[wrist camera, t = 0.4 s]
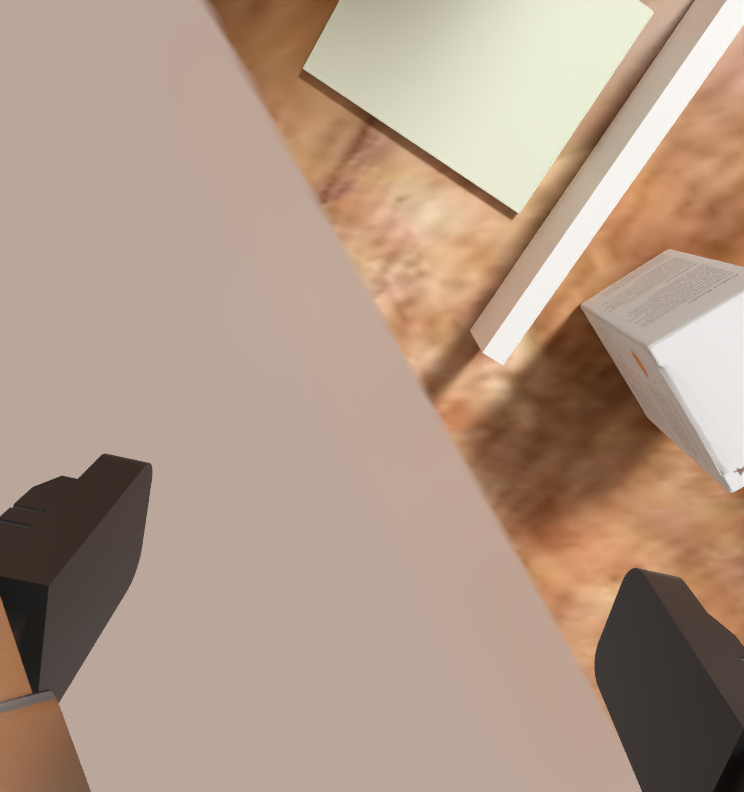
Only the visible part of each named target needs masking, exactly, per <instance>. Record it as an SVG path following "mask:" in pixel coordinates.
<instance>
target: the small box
mask: <svg viewBox="0 0 744 792" xmlns="http://www.w3.org/2000/svg"><path fill="white" fill-rule="evenodd" d="M580 308H581V309H582V311H583V312H584V314H585V315H586V317H587V319H588V320H589V322H590V324H591V325H592V327H593V328H594V330H595V332H596V333H597V335H598V337H599V338H600V340H601V342H602V343H603V345H604V347H605V348H606V350H607V352H608V353H609V355H610V356H611V358H612V360H613V361H614V363H615V365H616V366H617V368H618V370H619V371H620V373H621V375H622V376H623V378H624V380H625V381H626V383H627V385H628V386H629V388H630V389H631V391H632V393H633V394H634V396H635V398H636V399H637V401H638V403H639V404H640V406H641V408H642V409H643V411H644V413H645V415H646V416H647V418H649V419H650V420H651V421H652V422H653V423H654V424H655V425H656V426H657V427H658V428H659V429H660V430H661V431H662V432H663V433H664V434H665V435H667V436H668V437H669V438H670V439H671V440H672V441H673V442H674V443H675V444H676V445H677V446H679V447H680V448H681V449H682V450H683V451H684V452H685V453H686V454H687V455H688V456H689V457H691V458H692V459H693V460H694V461H695V462H696V463H697V464H699V465H700V466H701V467H702V468H703V469H704V470H705V471H706V472H707V473H709V474H710V475H711V476H712V477H713V478H714V479H715V480H716V481H717V482H718V483H720V484H721V485H722V486H723V487H724V488H725V489H726V490H727V491H728V492H729V493H733V492H735V491H737V490H738V489H740V488H742V487H744V267H742V266H737V265H733V264H729V263H725V262H721V261H716V260H712V259H708V258H704V257H700V256H695V255H691V254H687V253H683V252H679V251H674V250H670V249H668V250H666V251H664V252H662V253H661V254H659V255H657V256H656V257H654V258H653V259H651V260H649V261H648V262H646V263H645V264H643V265H641V266H640V267H638V268H637V269H635V270H634V271H632V272H630V273H629V274H627V275H626V276H624V277H622V278H621V279H619V280H618V281H616V282H615V283H613V284H611V285H610V286H608V287H607V288H605V289H603V290H602V291H600V292H599V293H597V294H596V295H594V296H593V297H591V298H590V299H588V300H587V301H585V302H583V303H582V304H581V305H580Z"/></svg>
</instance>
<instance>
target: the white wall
mask: <svg viewBox="0 0 744 792" xmlns="http://www.w3.org/2000/svg"><path fill="white" fill-rule="evenodd" d="M743 25H744V0H694V2H693V3H692V5H691V6H690V8H689V9H688V11H687V12H686V14H685V15H684V17H683V18H682V20H681V21H680V23H679V24H678V25H677V27H676V28H675V30H674V31H673V33H672V34H671V36H670V37H669V39H668V40H667V42H666V43H665V45H664V46H663V47H662V49H661V50H660V52H659V53H658V55H657V56H656V58H655V59H654V61H653V62H652V64H651V65H650V67H649V68H648V70H647V71H646V72H645V74H644V75H643V77H642V78H641V80H640V81H639V83H638V84H637V86H636V87H635V89H634V90H633V92H632V93H631V94H630V96H629V97H628V99H627V100H626V102H625V103H624V105H623V106H622V108H621V109H620V111H619V112H618V114H617V115H616V117H615V118H614V119H613V121H612V122H611V124H610V125H609V127H608V128H607V130H606V131H605V133H604V134H603V136H602V137H601V139H600V140H599V141H598V143H597V144H596V146H595V147H594V149H593V150H592V152H591V153H590V155H589V156H588V158H587V159H586V161H585V162H584V164H583V165H582V166H581V168H580V169H579V171H578V172H577V174H576V175H575V177H574V178H573V180H572V181H571V183H570V184H569V186H568V187H567V188H566V190H565V191H564V193H563V194H562V196H561V197H560V199H559V200H558V202H557V203H556V205H555V206H554V208H553V209H552V211H551V212H550V213H549V215H548V216H547V218H546V219H545V221H544V222H543V224H542V225H541V227H540V228H539V230H538V231H537V233H536V234H535V235H534V237H533V238H532V240H531V241H530V243H529V244H528V246H527V247H526V249H525V250H524V252H523V253H522V255H521V256H520V258H519V259H518V260H517V262H516V263H515V265H514V266H513V268H512V269H511V271H510V272H509V274H508V275H507V277H506V278H505V280H504V281H503V282H502V284H501V285H500V287H499V288H498V290H497V291H496V293H495V294H494V296H493V297H492V299H491V300H490V302H489V303H488V304H487V306H486V307H485V309H484V310H483V312H482V313H481V315H480V316H479V318H478V319H477V321H476V322H475V324H474V325H473V327H472V328H471V329H470V332H471V334H472V336H473V337H474V339H475V341H476V342H477V344H478V346H479V348H480V349H481V351H482V353H484V354H486V355H487V356H489V357H490V358H492V359H494V360H495V361H497V362H498V363H500V364H501V365H503V364H504V363H505V362H506V360H507V359H508V357H509V356H510V355H511V353H512V352H513V350H514V349H515V347H516V346H517V345H518V343H519V342H520V340H521V339H522V338H523V336H524V335H525V333H526V332H527V331H528V329H529V328H530V326H531V325H532V323H533V322H534V321H535V319H536V318H537V316H538V315H539V314H540V312H541V311H542V309H543V308H544V306H545V305H546V304H547V302H548V301H549V299H550V298H551V297H552V295H553V294H554V292H555V291H556V289H557V288H558V287H559V285H560V284H561V282H562V281H563V280H564V278H565V277H566V275H567V274H568V272H569V271H570V270H571V268H572V267H573V265H574V264H575V263H576V261H577V260H578V258H579V257H580V255H581V254H582V253H583V251H584V250H585V248H586V247H587V246H588V244H589V243H590V241H591V240H592V239H593V237H594V236H595V234H596V233H597V231H598V230H599V229H600V227H601V226H602V224H603V223H604V222H605V220H606V219H607V217H608V216H609V214H610V213H611V212H612V210H613V209H614V207H615V206H616V205H617V203H618V202H619V200H620V199H621V197H622V196H623V195H624V193H625V192H626V190H627V189H628V188H629V186H630V185H631V183H632V182H633V180H634V179H635V178H636V176H637V175H638V173H639V172H640V171H641V169H642V168H643V166H644V165H645V164H646V162H647V161H648V159H649V158H650V156H651V155H652V154H653V152H654V151H655V149H656V148H657V147H658V145H659V144H660V142H661V141H662V139H663V138H664V137H665V135H666V134H667V132H668V131H669V130H670V128H671V127H672V125H673V124H674V122H675V121H676V120H677V118H678V117H679V115H680V114H681V113H682V111H683V110H684V108H685V107H686V105H687V104H688V103H689V101H690V100H691V98H692V97H693V96H694V94H695V93H696V91H697V90H698V88H699V87H700V86H701V84H702V83H703V81H704V80H705V79H706V77H707V76H708V74H709V73H710V72H711V70H712V69H713V67H714V66H715V64H716V63H717V62H718V60H719V59H720V57H721V56H722V55H723V53H724V52H725V50H726V49H727V47H728V46H729V45H730V43H731V42H732V40H733V39H734V38H735V36H736V35H737V33H738V32H739V30H740V29H741V28H742V26H743Z"/></svg>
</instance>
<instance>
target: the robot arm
mask: <svg viewBox="0 0 744 792" xmlns="http://www.w3.org/2000/svg"><path fill="white" fill-rule="evenodd" d="M151 482H152V466H151V464H150V463H146V462H142V461H137V460H133V459H128V458H123V457H118V456H114V455H109V454H102V455H101V456H100V457H99V458H98V459H97V460H96V461H95V462H94V463H93V464H92V465H91V466H90V467H89V468H88V469H87V470H86V471H85V472H84V473H83V474H82V476H81V477H79V478H78V479H75V478H70V477H65V476H60V477H57V478H55V479H52V480H50V481H47V482H45V483H42V484H40V485H37V486H35V487H33V488H31V489H30V490H29V491H28V492H27V493H26V494H25V495H23V496H22V497H21V498H20V499H19V500H18V501H17V502H16V503H15V504H14V506H13V508H9V509H8V510H7V511H6V512H5V513H4V514H2V515H1V516H0V792H91V791H90V789H89V785H88V783H87V780H86V777H85V774H84V772H83V769H82V766H81V764H80V761H79V758H78V755H77V753H76V750H75V747H74V744H73V742H72V739H71V736H70V734H69V731H68V728H67V725H66V723H65V720H64V717H63V714H62V712H61V709H60V706H59V704H58V703H59V702H60V700H61V699H62V697H63V695H64V694H65V692H66V690H67V689H68V687H69V685H70V684H71V682H72V680H73V679H74V677H75V675H76V674H77V672H78V670H79V669H80V667H81V666H82V664H83V662H84V660H85V659H86V657H87V656H88V654H89V652H90V651H91V649H92V648H93V646H94V644H95V643H96V641H97V639H98V638H99V636H100V634H101V633H102V631H103V629H104V628H105V626H106V624H107V623H108V621H109V619H110V618H111V616H112V615H113V613H114V611H115V610H116V608H117V606H118V605H119V603H120V602H121V600H122V598H123V597H124V595H125V593H126V592H127V590H128V588H129V586H130V584H131V582H132V580H133V578H134V575H135V572H136V569H137V566H138V563H139V559H140V555H141V550H142V544H143V537H144V529H145V523H146V516H147V509H148V502H149V495H150V488H151ZM595 677H596V682H597V685H598V687H599V690H600V692H601V694H602V697H603V699H604V702H605V704H606V706H607V709H608V711H609V714H610V716H611V718H612V721H613V723H614V725H615V728H616V730H617V733H618V735H619V737H620V740H621V742H622V745H623V747H624V749H625V752H626V754H627V756H628V759H629V761H630V764H631V766H632V768H633V771H634V773H635V775H636V778H637V780H638V783H639V785H640V787H641V790H642V792H744V647H743V645H742V644H741V643H740V641H739V640H738V639H737V637H736V636H735V635H734V634H733V633H731V632H730V631H729V630H728V629H726V628H725V627H724V626H723V625H722V624H720V623H719V622H718V621H717V620H716V619H714V618H713V617H712V616H711V615H710V614H708V613H707V612H706V610H705V609H704V608H703V606H702V605H701V604H700V602H699V601H698V600H697V598H696V597H695V595H694V594H693V593H692V591H691V590H690V589H689V587H688V586H687V585H686V583H685V582H684V581H683V580H682V579H681V578H680V577H676V576H671V575H667V574H662V573H657V572H653V571H648V570H643V569H638V568H633V569H631V570H630V571H629V572H628V573H627V574H626V575H625V577H624V579H623V581H622V584H621V586H620V589H619V591H618V594H617V596H616V599H615V602H614V604H613V607H612V609H611V612H610V614H609V617H608V619H607V622H606V625H605V627H604V630H603V632H602V635H601V637H600V640H599V643H598V645H597V649H596V654H595Z"/></svg>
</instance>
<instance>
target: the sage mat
mask: <svg viewBox="0 0 744 792" xmlns="http://www.w3.org/2000/svg"><path fill="white" fill-rule="evenodd" d="M653 13H654V12H653V11H652V10H651V9H649V8H648V7H647V6H645V5H644V4H643V3H641V2H640V1H639V0H340V1H339V2H338V4H337V6H336V8H335V10H334V12H333V13H332V15H331V17H330V19H329V21H328V23H327V25H326V26H325V28H324V30H323V32H322V34H321V36H320V37H319V39H318V41H317V43H316V45H315V47H314V48H313V50H312V52H311V54H310V56H309V58H308V60H307V61H306V63H305V65H304V67H303V70H305V71H306V72H308V73H309V74H311V75H312V76H314V77H315V78H317V79H318V80H320V81H321V82H323V83H324V84H326V85H327V86H329V87H330V88H332V89H333V90H335V91H336V92H338V93H339V94H341V95H342V96H344V97H345V98H347V99H348V100H350V101H351V102H353V103H354V104H356V105H357V106H358V107H360V108H361V109H363V110H364V111H366V112H367V113H369V114H370V115H372V116H373V117H375V118H376V119H378V120H379V121H381V122H382V123H384V124H385V125H387V126H388V127H390V128H391V129H393V130H394V131H396V132H397V133H399V134H400V135H402V136H403V137H405V138H406V139H408V140H409V141H411V142H412V143H414V144H415V145H417V146H418V147H420V148H421V149H423V150H424V151H426V152H427V153H429V154H430V155H432V156H433V157H435V158H436V159H438V160H439V161H440V162H442V163H443V164H445V165H446V166H448V167H449V168H451V169H452V170H454V171H455V172H457V173H458V174H460V175H461V176H463V177H464V178H466V179H467V180H469V181H470V182H472V183H473V184H475V185H476V186H478V187H479V188H481V189H482V190H484V191H485V192H487V193H488V194H490V195H491V196H493V197H494V198H496V199H497V200H499V201H500V202H502V203H503V204H505V205H506V206H508V207H509V208H511V209H512V210H514V211H515V212H517V213H518V214H520V212H521V211H522V209H523V208H524V206H525V205H526V203H527V202H528V200H529V199H530V197H531V196H532V194H533V193H534V191H535V190H536V188H537V187H538V185H539V184H540V182H541V181H542V179H543V178H544V176H545V175H546V173H547V172H548V170H549V169H550V167H551V166H552V164H553V163H554V161H555V160H556V158H557V157H558V155H559V154H560V152H561V151H562V149H563V148H564V146H565V145H566V143H567V142H568V140H569V139H570V137H571V136H572V134H573V133H574V131H575V130H576V128H577V127H578V125H579V124H580V122H581V121H582V119H583V118H584V116H585V115H586V113H587V112H588V110H589V109H590V107H591V106H592V104H593V103H594V101H595V100H596V98H597V97H598V95H599V94H600V92H601V91H602V89H603V88H604V86H605V85H606V83H607V82H608V80H609V79H610V77H611V76H612V74H613V73H614V71H615V70H616V68H617V67H618V65H619V64H620V62H621V61H622V59H623V58H624V56H625V55H626V53H627V52H628V50H629V49H630V47H631V46H632V44H633V43H634V41H635V40H636V38H637V37H638V35H639V34H640V32H641V31H642V29H643V28H644V26H645V25H646V24H647V22H648V21H649V19H650V18H651V16H652V15H653Z"/></svg>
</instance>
